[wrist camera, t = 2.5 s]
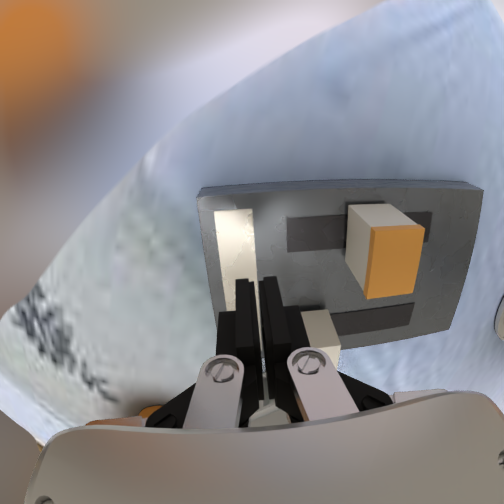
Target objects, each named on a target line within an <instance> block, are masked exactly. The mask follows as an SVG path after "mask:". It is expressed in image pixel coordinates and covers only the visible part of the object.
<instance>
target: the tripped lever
mask: <svg viewBox="0 0 504 504" xmlns="http://www.w3.org/2000/svg"><path fill="white" fill-rule="evenodd" d="M424 232H425V228H424V227H422V226H421V225H418V224H416V223H415V222H414V221H413V220H411V219H410V218H409V217H407V216H406V215H404V214H403V213H402V212H400V211H399V210H398V209H396V208H395V207H394V206H392V205H391V204H360V205H348V223H347V241H346V255H345V262H346V263H347V265H348V267H349V268H350V270H351V271H352V273H353V275H354V276H355V278H356V280H357V281H358V283H359V285H360V286H361V288H362V290H363V294H364V296H365V297H366V299H373V298H381V297H388V296H396V295H403V294H410V293H413V290H414V285H415V281H416V276H417V271H418V266H419V261H420V256H421V250H422V245H423V239H424Z"/></svg>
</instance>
